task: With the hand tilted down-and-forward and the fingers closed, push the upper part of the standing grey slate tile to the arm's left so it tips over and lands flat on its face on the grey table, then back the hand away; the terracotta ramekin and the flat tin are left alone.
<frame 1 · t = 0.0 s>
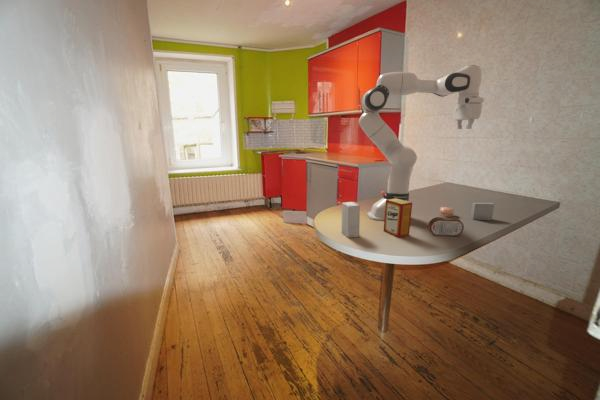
hand: (463, 128, 146), 48 cm above the table, tool pointing down, fingers open, 8 cm apart
baking soda box: (395, 233, 133), on the table
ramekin: (446, 215, 162), on the table
skincare box: (349, 234, 131), on the table
tin: (444, 235, 131), on the table
tile: (480, 219, 155), on the table
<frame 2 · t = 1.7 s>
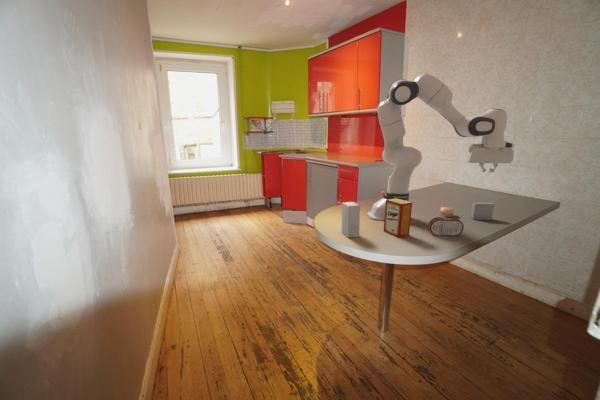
hand: (487, 172, 141), 27 cm above the table, tool pointing down, fingers open, 3 cm apart
nothing on the table moved.
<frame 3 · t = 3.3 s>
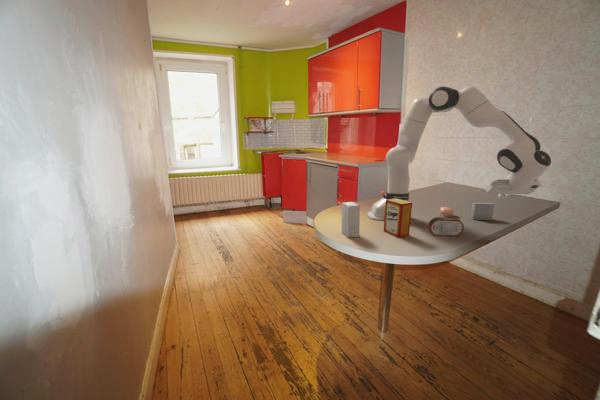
hand: (501, 196, 139), 16 cm above the table, tool tilted 45°, fingers closed
nothing on the table moved.
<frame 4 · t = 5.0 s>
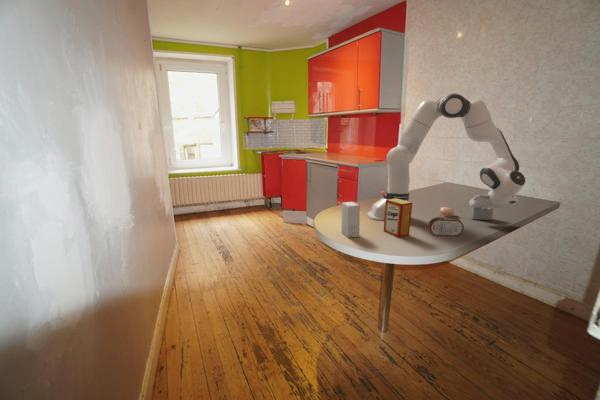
hand: (484, 209, 153), 6 cm above the table, tool tilted 45°, fingers closed
tile: (480, 218, 155), on the table, touching gripper
everything else where it was.
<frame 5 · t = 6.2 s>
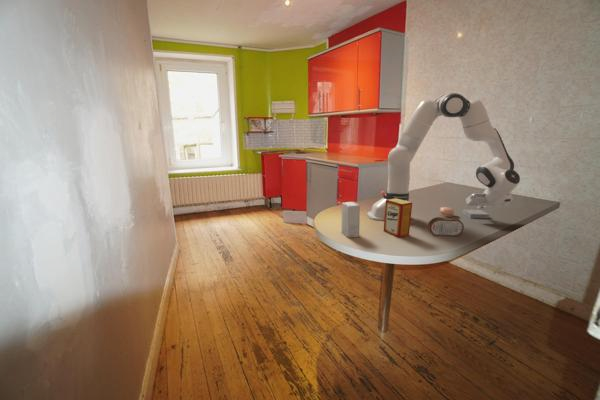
hand: (480, 207, 156), 6 cm above the table, tool tilted 45°, fingers closed
tile: (479, 216, 157), point 1 cm above the table, tilted 90°
everything else where it was.
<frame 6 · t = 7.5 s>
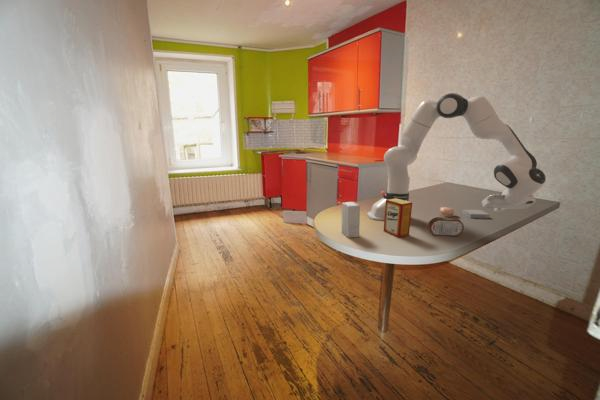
hand: (497, 210, 142), 8 cm above the table, tool tilted 45°, fingers closed
nothing on the table moved.
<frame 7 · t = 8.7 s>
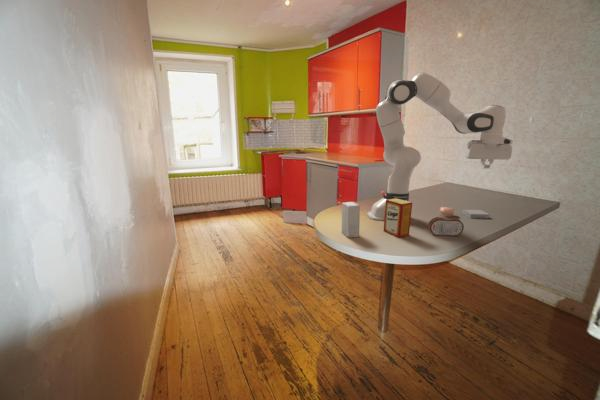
hand: (485, 168, 142), 29 cm above the table, tool pointing down, fingers closed
nothing on the table moved.
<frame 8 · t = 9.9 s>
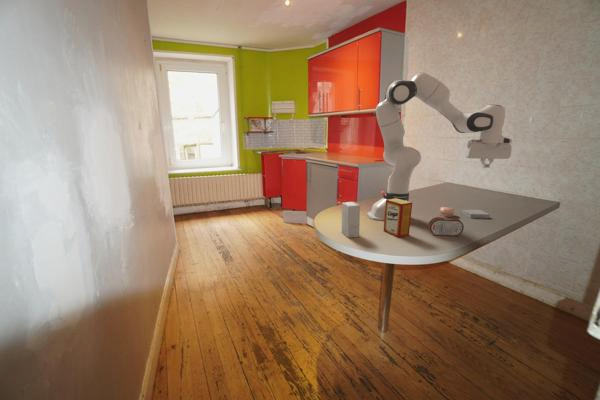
hand: (485, 167, 142), 29 cm above the table, tool pointing down, fingers closed
nothing on the table moved.
at the end: tile tilted 90°; tile inside the target area (4.7 cm from its centre), point 1.1 cm above the table; the gripper is holding nothing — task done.
